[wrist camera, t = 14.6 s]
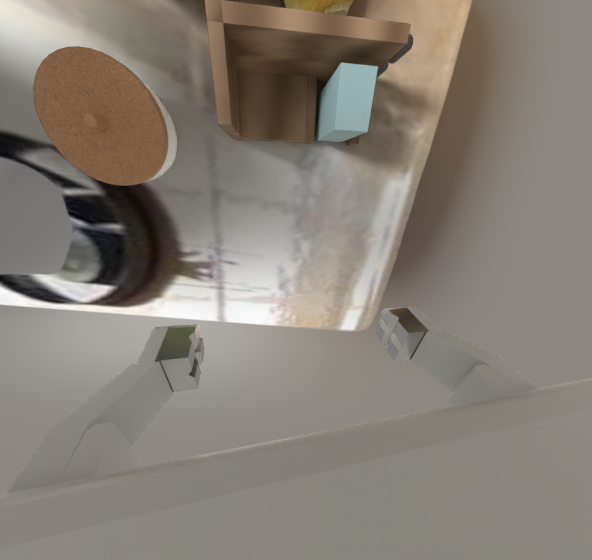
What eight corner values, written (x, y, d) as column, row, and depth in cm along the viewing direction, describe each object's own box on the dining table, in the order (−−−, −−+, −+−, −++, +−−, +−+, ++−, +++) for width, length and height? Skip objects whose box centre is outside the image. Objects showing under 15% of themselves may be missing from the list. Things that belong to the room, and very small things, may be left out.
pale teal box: (316, 140, 30) (334, 129, 22) (319, 94, 27) (341, 62, 19) (349, 142, 30) (378, 132, 22) (355, 97, 28) (390, 67, 20)
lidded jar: (74, 88, 24) (-25, 45, 16) (168, 73, 25) (118, 23, 16) (124, 188, 29) (67, 195, 21) (201, 175, 30) (176, 176, 21)
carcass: (233, 138, 28) (218, 123, 19) (226, 59, 25) (204, -3, 16) (362, 145, 30) (401, 134, 22) (372, 73, 27) (423, 25, 18)
